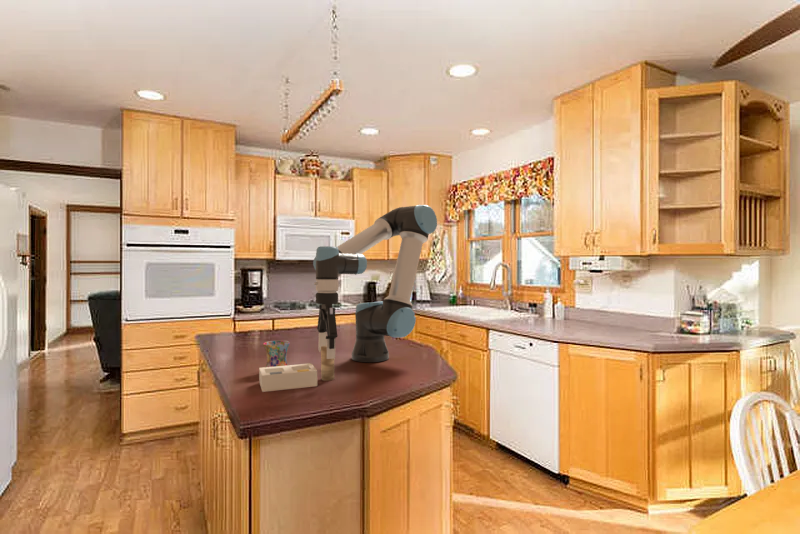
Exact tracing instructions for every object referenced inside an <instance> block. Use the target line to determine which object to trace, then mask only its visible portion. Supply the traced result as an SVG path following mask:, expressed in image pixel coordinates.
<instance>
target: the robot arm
mask: <svg viewBox="0 0 800 534" xmlns="http://www.w3.org/2000/svg"><path fill="white" fill-rule="evenodd" d="M437 226H438V218H437V215H436V212H435V211H434V209H433V207H431V206H430V205H427V204H417V205H409V206H401V207H400V206H399V207H397V208H394V209H392V210H390V211H388V212H387V213H385V214H383V215H381V216H379V217H378V218H376V219H375V221H374V223H373V224H372V225H370V226H368V227H366V228H365V229H364V230H362V231H360V232H359V233H357V234H355V235H354V236H352V237H351V238H349V239H347V240H346V241H344V242H343V243H341V244H339V245H338V246H332V245H331V246H329V245H328V246H326V245H323V246H318V247H317V248H316V250H315V251H316V252H315V257H314V259H313V261H312V262H313V263H312V265H313V269H314V270H315V282H314V283H313V285H314V286H315V291H316V293H315V303H316V304H318V308H319V309H318V319H317V327H316V329H317V331H318V344H317V345H318V352H319V353H321V346H327V359H334V360H335V359H336V339H337V338H338V330H337V319H336V308H335V307H333V305H337V304H339V293H338V291H339V275H355V276H357V275H362V274H364V273H365V271H366V269H367V267H368V260H367V258H366V256H365V255H364V253H365V252H367V251H368V250H370V249H372V247H373V248H374V246H376V245H378V244H379V243H381V242H382V241H385V240H386V241H388V240H389V239H391V238H393V237H396V236H399V237H400V238H401V243H400V246H399V250H398V254H397V258H396V262H395V267H394V272H393V276H392V279H391V283H390V289H389V292H388V295H387V296H386V297H384V298H383V300H382V301H374V302H373V301H372V302H363V303H358V304H356V306H355V312H354V314H355V316H354V317H355V343H354V345H353V347H352V352H351V360H352V361H354V362H358V363H359V362H360V363H379V362H384V361H388V359H389V358H390V353H389V349H388V346H387V344H386V340H385V336H387V337H391V338H395V339H396V338H405V337H407V336H408V335H410V334H411V333H412V331H413V330H414V328H415V325H416V322H417V321H416V320H417V317H416V313H415V311H414V310H413V303H412V302H411V297H412V293H413V289H414V283H415V280H416V275H417V271H418V265H419V263H420V262H419V261H420V259H421V258H420V257H421V253H422V249H423V244H425V243H426V242H428V238H429V235H431V234H433V233H434V232H435V231H436V229H437Z"/></svg>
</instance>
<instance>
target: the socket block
mask: <svg viewBox="0 0 800 534" xmlns="http://www.w3.org/2000/svg"><path fill="white" fill-rule="evenodd" d="M258 368H259V369H258V371H259V373H258V378H259V385H260V389H261V392H262V393H264V392H265V393H267V392H274V391H283V390H293V389H301V388H311V387H318V370H317V368H316V367H315V366H314V365H313V363H300V364H287V366H275V367H266V366H264V367H258Z"/></svg>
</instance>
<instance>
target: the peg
mask: <svg viewBox="0 0 800 534" xmlns="http://www.w3.org/2000/svg"><path fill="white" fill-rule="evenodd" d="M320 361H321V362H320V369H321V370H320V373H321V374H320V379H321V380H322V381H325V382H326V381H327V382H328V381H333V380H335V359H327V346H321V352H320Z"/></svg>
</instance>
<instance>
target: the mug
mask: <svg viewBox="0 0 800 534" xmlns="http://www.w3.org/2000/svg"><path fill="white" fill-rule="evenodd" d="M262 345H263V347H264V350H265V354H266V366H265V367H275V366H287V365H288V361H287V353H288V349H289V345H290V341H288V340H270V341H265V342H263V344H262Z"/></svg>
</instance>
